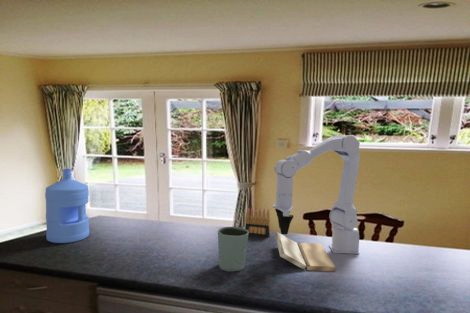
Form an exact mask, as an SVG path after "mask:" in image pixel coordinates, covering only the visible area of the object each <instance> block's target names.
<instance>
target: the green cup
mask: <svg viewBox="0 0 470 313" xmlns="http://www.w3.org/2000/svg"><path fill="white" fill-rule="evenodd" d="M248 234H249V232H248V230H246V229H245V228H243V227H239V226H224V227H220V228H219V229H218V230H217V243H218V245H217V246H218V267H219V269H220V270H223V271H225V272H238V271H241V270H243V269H244V268H245V267H246V266H245V264H246V255H247V246H248V241H249V240H248V239H249V235H248Z"/></svg>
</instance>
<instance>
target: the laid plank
mask: <svg viewBox="0 0 470 313" xmlns="http://www.w3.org/2000/svg"><path fill="white" fill-rule="evenodd" d="M297 244H298V247H299V249H300V252H301V254H302V257H303V259H304V261H305V264H306V267H305V269H306V271H320V272H321V271H323V272H327V271H328V272H335V271H336V266H335V264H334V262H333V261H332V259H331V258H330V256H329V254H328V253H327V252H326V250H325V248H324V246H323V245H322V243H315V242H314V243H313V242H312V243H311V242H310V243H309V242H297Z"/></svg>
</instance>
